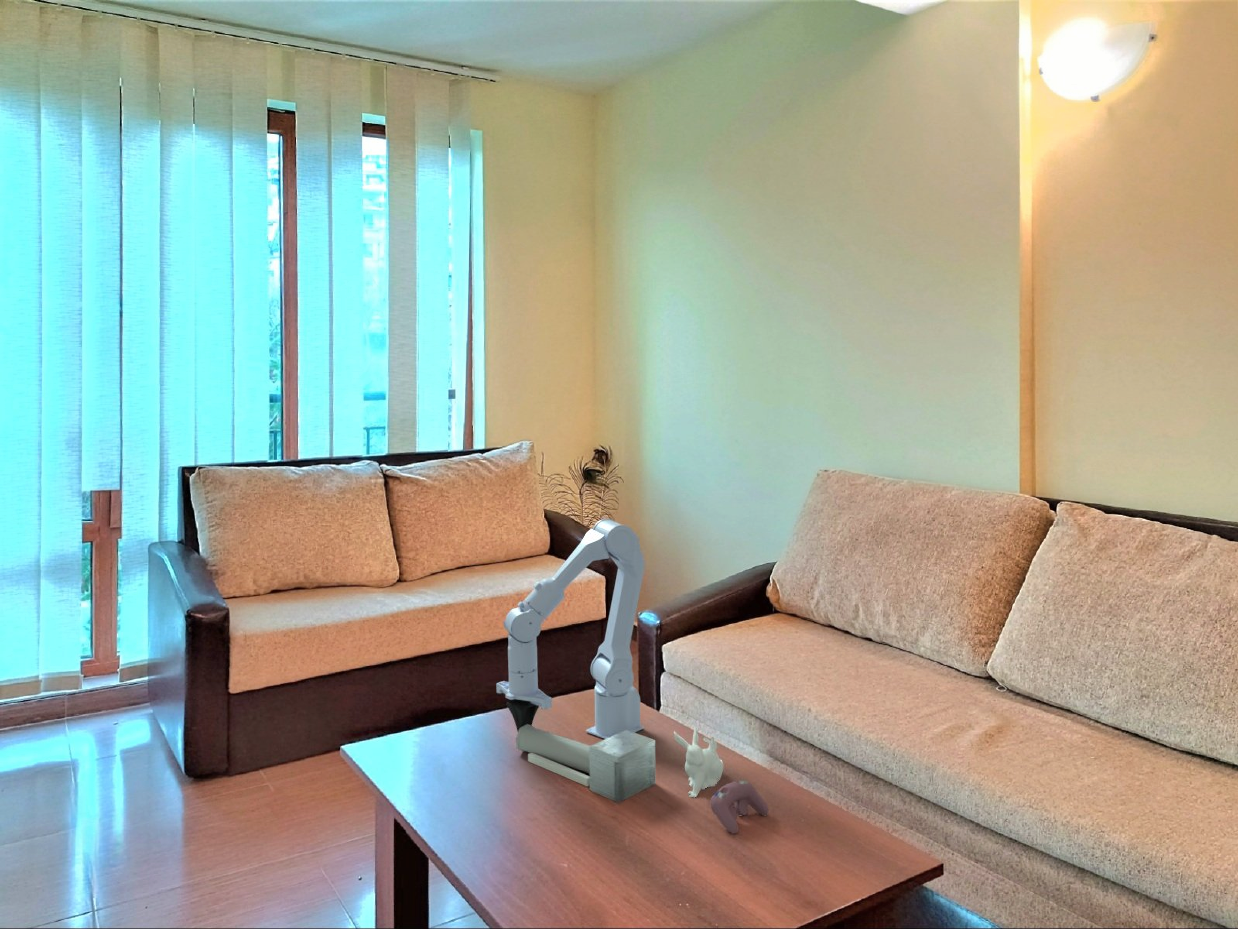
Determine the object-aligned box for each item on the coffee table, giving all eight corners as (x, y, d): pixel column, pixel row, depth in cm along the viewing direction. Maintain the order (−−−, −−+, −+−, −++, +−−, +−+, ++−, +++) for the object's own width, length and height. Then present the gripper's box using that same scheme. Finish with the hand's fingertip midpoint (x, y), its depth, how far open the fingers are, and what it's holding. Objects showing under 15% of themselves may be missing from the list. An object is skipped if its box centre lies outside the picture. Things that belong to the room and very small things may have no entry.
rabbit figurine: (693, 799, 157) (693, 746, 156) (660, 787, 162) (660, 735, 161) (733, 777, 166) (733, 726, 165) (700, 766, 171) (700, 716, 170)
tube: (635, 755, 165) (535, 723, 180) (618, 757, 161) (517, 724, 176) (631, 784, 164) (531, 750, 180) (613, 788, 160) (513, 752, 175)
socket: (626, 772, 168) (626, 730, 167) (655, 783, 163) (655, 740, 162) (589, 790, 161) (589, 746, 160) (618, 802, 156) (618, 757, 155)
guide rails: (559, 748, 179) (558, 741, 179) (617, 771, 168) (617, 764, 168) (528, 761, 173) (527, 754, 173) (587, 786, 162) (587, 779, 162)
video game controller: (752, 816, 154) (738, 776, 155) (772, 813, 151) (757, 771, 152) (716, 838, 147) (701, 795, 148) (736, 835, 144) (721, 791, 145)
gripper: (484, 666, 180) (485, 731, 182) (532, 682, 170) (533, 751, 172) (511, 657, 185) (512, 721, 187) (559, 673, 175) (560, 740, 177)
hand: (524, 735), depth 180 cm, fingers closed
